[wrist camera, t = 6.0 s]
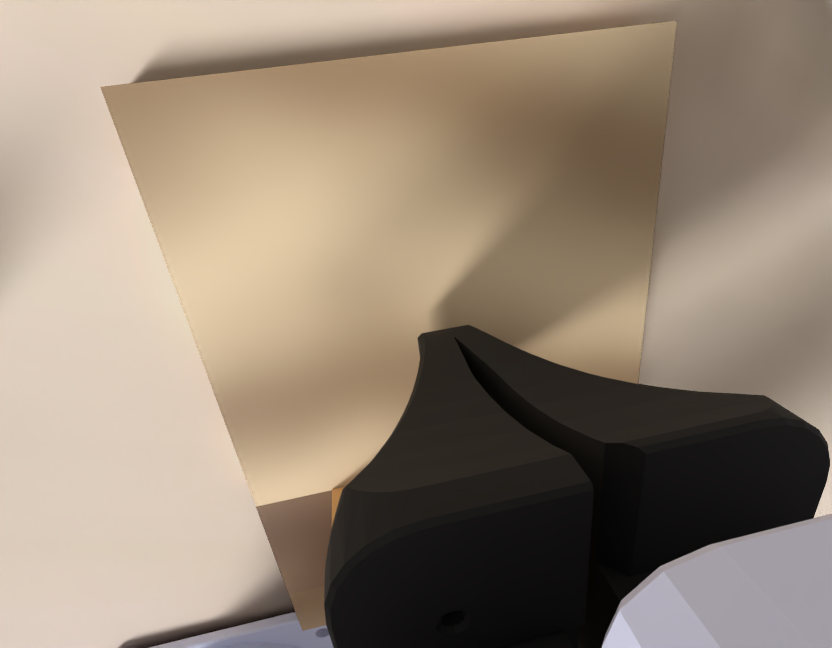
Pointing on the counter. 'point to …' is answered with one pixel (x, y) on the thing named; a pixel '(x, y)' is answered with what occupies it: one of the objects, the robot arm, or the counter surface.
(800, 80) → the counter surface
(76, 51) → the counter surface
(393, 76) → the board
